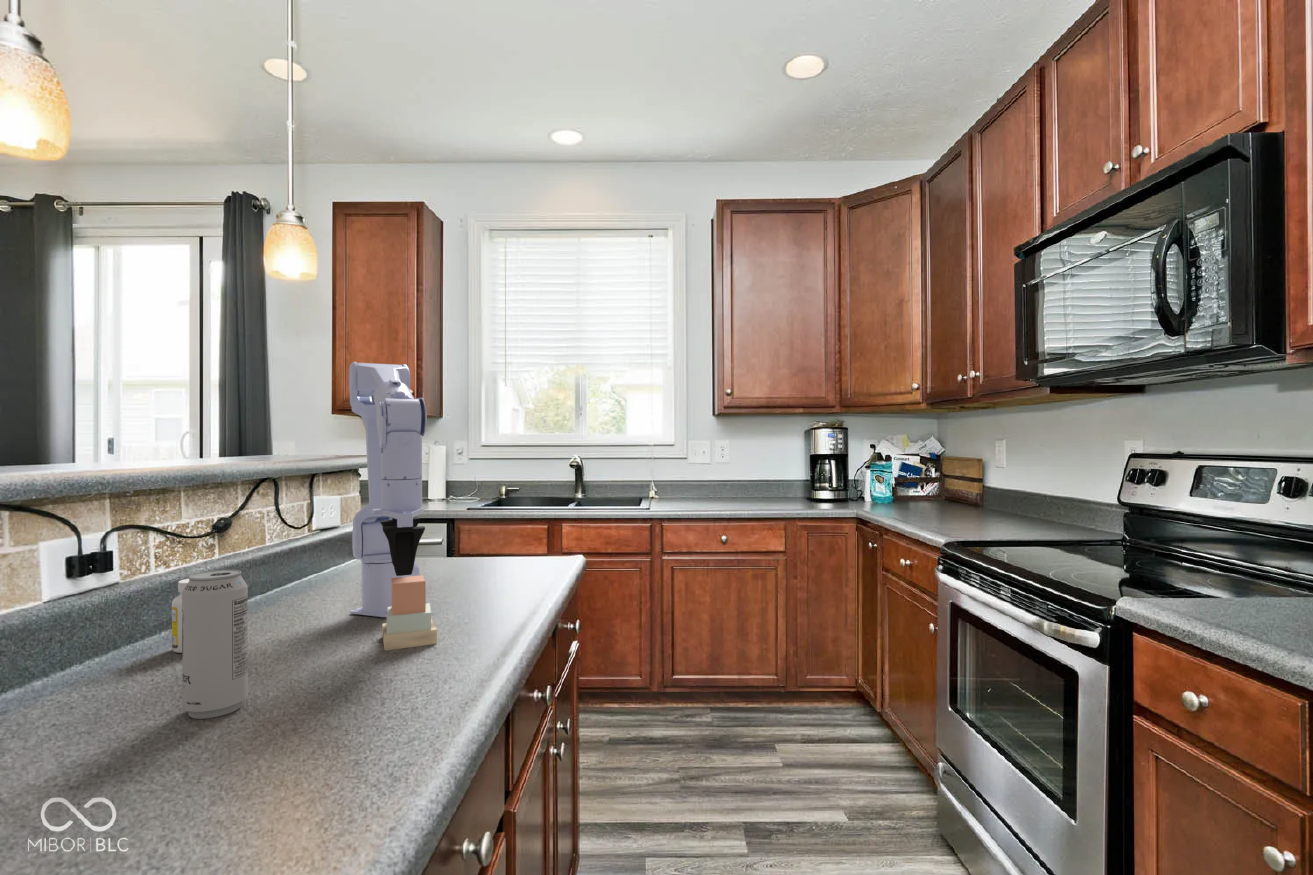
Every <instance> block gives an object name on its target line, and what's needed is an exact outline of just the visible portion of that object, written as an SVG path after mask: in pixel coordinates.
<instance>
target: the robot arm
mask: <svg viewBox="0 0 1313 875" xmlns="http://www.w3.org/2000/svg"><path fill="white" fill-rule="evenodd" d="M348 390H349V405H350V406H351V412H353V413H354V414H356V415H358V416H360V417H361V419H362V422H363V426H364V429H365V443H366V446H365V447H366V463H367V468H366V469H367V485H368V486H367V488H368V504H366V506H364V507H363V508H361V509H360V510H359V511H358V512H356V513H355V515H354V517H353V519H352V531H351V533H352V534H351V543H352V545H351V546H352V554H353V557H354V558H355V559H356V560H357V561H358V560H360V562H361V607H358V608H355V609H352V610H349V614H351V615H360V616H361V615H362V616H369V617H370V616H371V617H380V618H387V610H388V607H391V606H392V600H391V578H397V577H409V576H420V574H421V573H420V567H419V564H418V562H417V561H416V556H417V550H418V546H419V545H420V544H419V543H420V540H421V538H422V536H423V534H424V532H425V530H426V527H425V526H422V525H420V526H418V525H419V524H420V520H421V519H420V517H417V516H420V515H421V514H424V512H425V510H424V509H425V508H424V506H423V437H424V436H425V435H426V434H425V433H426V428H427V423H428V422H427V418H428V417H427V415H428V414H427V408H426V407H427V406H426V403H425V400H424V398H423V397H417V398H415V397H414V396H413V394H412V391H411V371H410V368H409V367H408V365H407V364H405V363H402V364H390V363H389V364H388V363H373V362H371V363H370V362H369V363H368V362H367V363H366V362H357V361H353V362H351V364H350V365H349V370H348Z"/></svg>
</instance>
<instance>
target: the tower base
mask: <svg viewBox="0 0 1313 875" xmlns="http://www.w3.org/2000/svg"><path fill="white" fill-rule="evenodd" d="M381 628H382V632H381V633H382V634H381V636H382V641H383V648H384V651H392V650H393V651H394V650H400V649H407V648H414V647H422V646H428V645H436V644H437V643H438V641H437V640H438V639H437V638H438V636H437V635H438V634H437V631H438V630H437V627H436V626H435V623H434V621H433V619H432V618H431V630H423V631H414V632H404V633H395V634H387V622H385V623H382V626H381Z"/></svg>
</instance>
